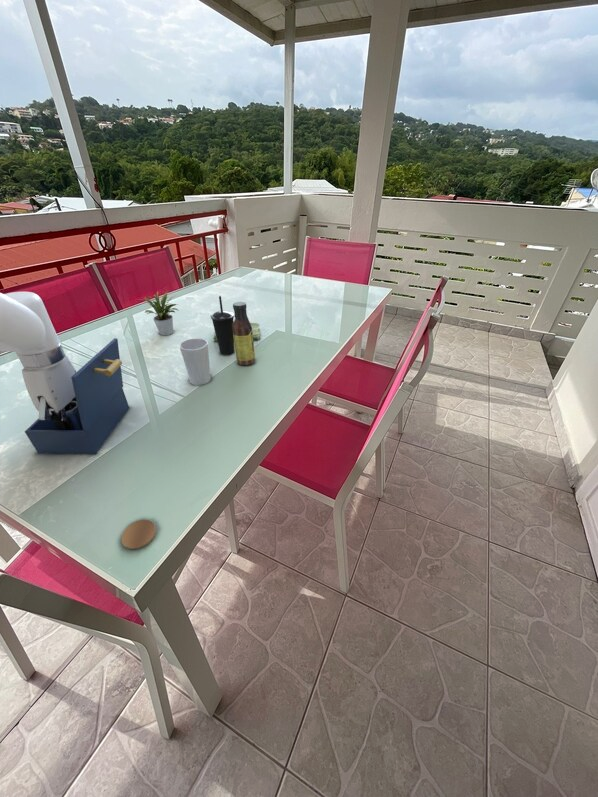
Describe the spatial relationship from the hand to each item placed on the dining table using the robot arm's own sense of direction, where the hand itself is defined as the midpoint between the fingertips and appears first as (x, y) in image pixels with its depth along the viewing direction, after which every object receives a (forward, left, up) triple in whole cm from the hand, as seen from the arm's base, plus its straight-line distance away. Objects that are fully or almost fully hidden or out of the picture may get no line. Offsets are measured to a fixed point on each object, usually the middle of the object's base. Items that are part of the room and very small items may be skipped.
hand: (75, 424), depth 77 cm
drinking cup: (+49, +20, -4) cm, 53 cm away
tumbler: (0, 0, -1) cm, 1 cm away
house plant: (+36, +49, -4) cm, 61 cm away
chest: (+2, +2, -4) cm, 5 cm away
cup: (+34, +8, -4) cm, 35 cm away
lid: (+8, -2, +10) cm, 13 cm away
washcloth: (+59, +31, -4) cm, 67 cm away
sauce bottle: (+51, +10, -4) cm, 52 cm away
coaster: (+4, -35, -4) cm, 36 cm away
